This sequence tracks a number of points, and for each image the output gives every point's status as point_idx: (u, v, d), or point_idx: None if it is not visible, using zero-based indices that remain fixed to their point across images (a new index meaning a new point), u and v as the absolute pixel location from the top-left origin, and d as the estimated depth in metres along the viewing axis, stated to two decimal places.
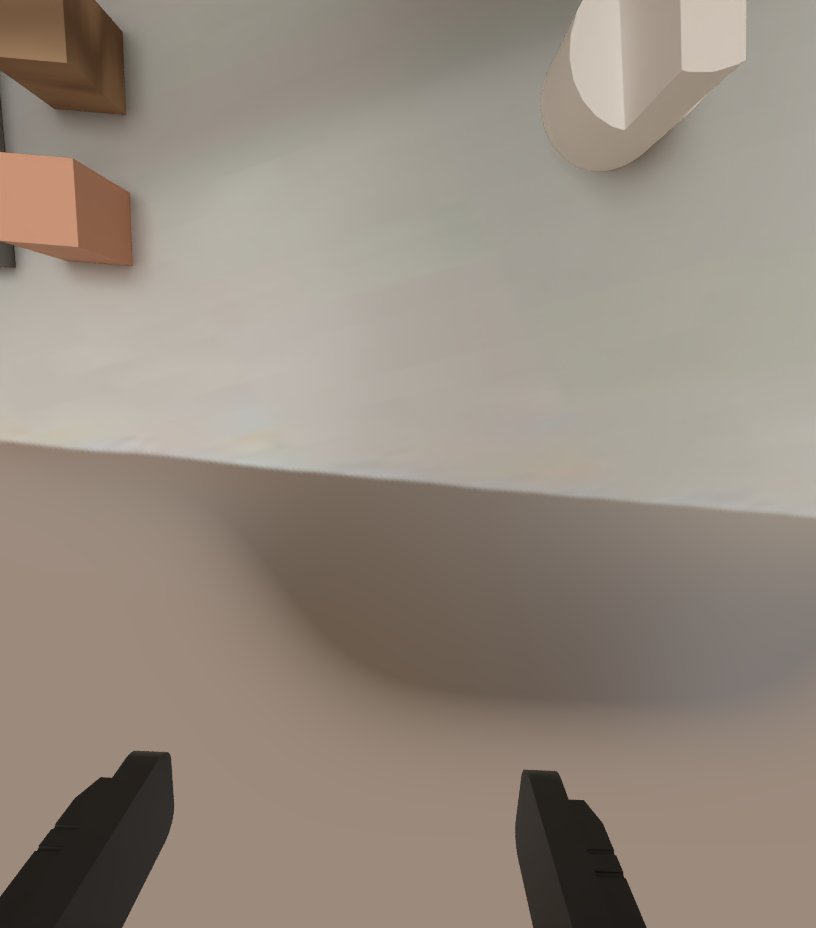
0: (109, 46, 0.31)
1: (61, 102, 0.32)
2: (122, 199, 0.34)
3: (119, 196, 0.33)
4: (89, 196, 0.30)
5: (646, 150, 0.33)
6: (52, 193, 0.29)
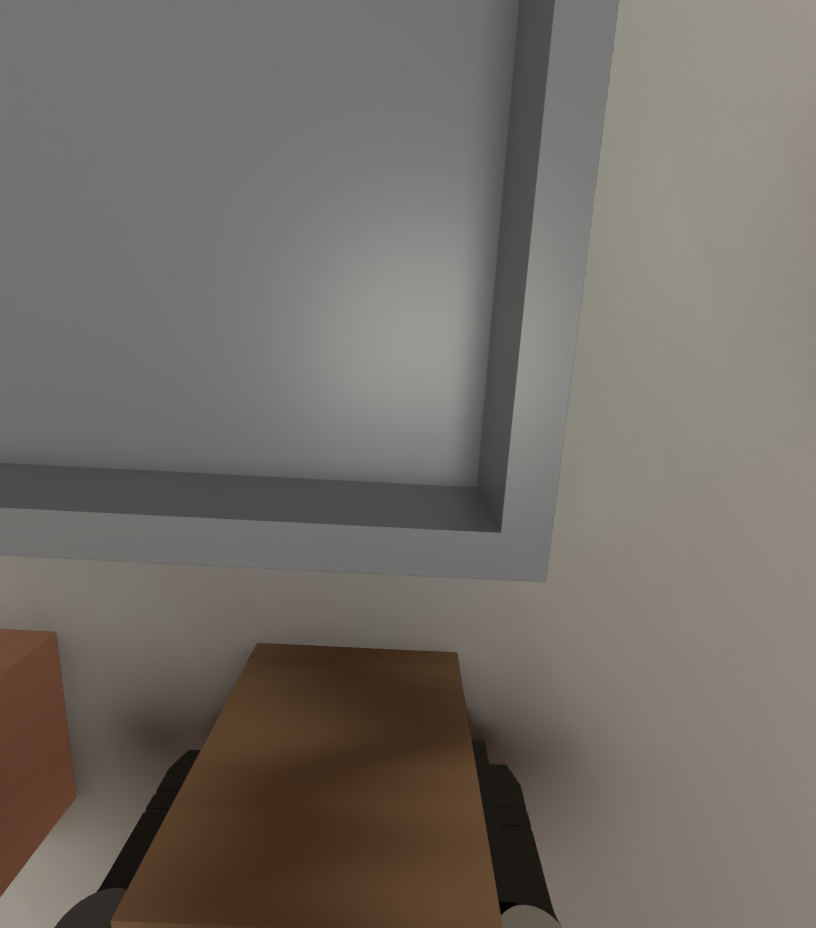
0: None
1: None
2: None
3: None
4: None
5: None
6: None
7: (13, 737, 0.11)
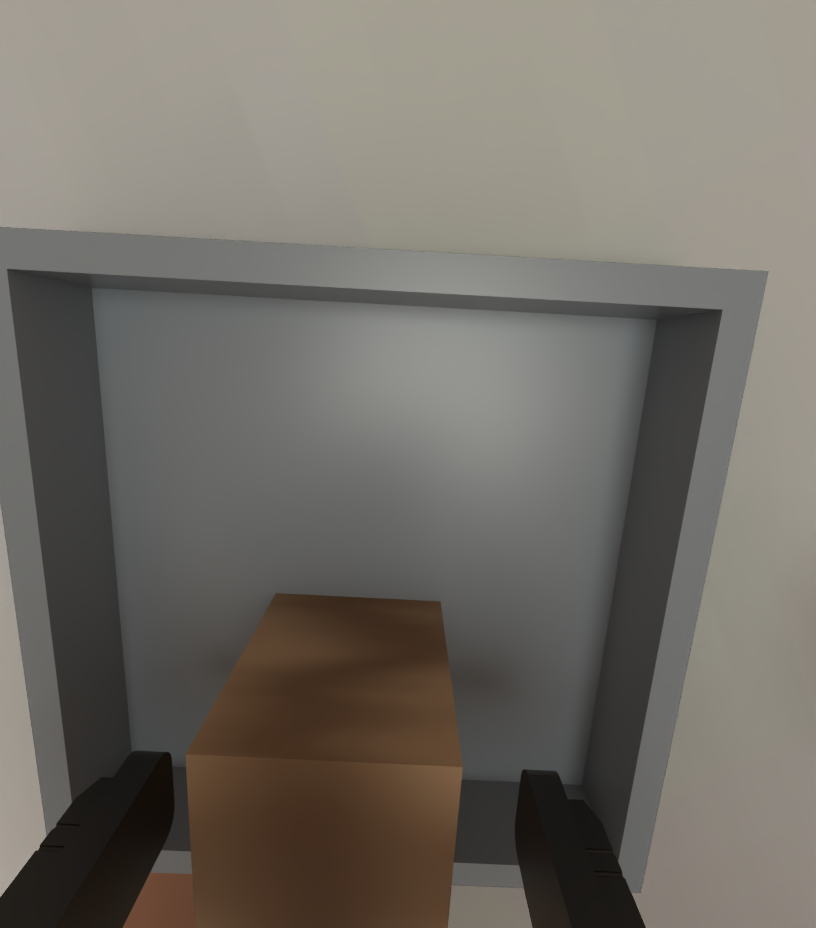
0: None
1: None
2: None
3: None
4: None
5: None
6: None
7: None
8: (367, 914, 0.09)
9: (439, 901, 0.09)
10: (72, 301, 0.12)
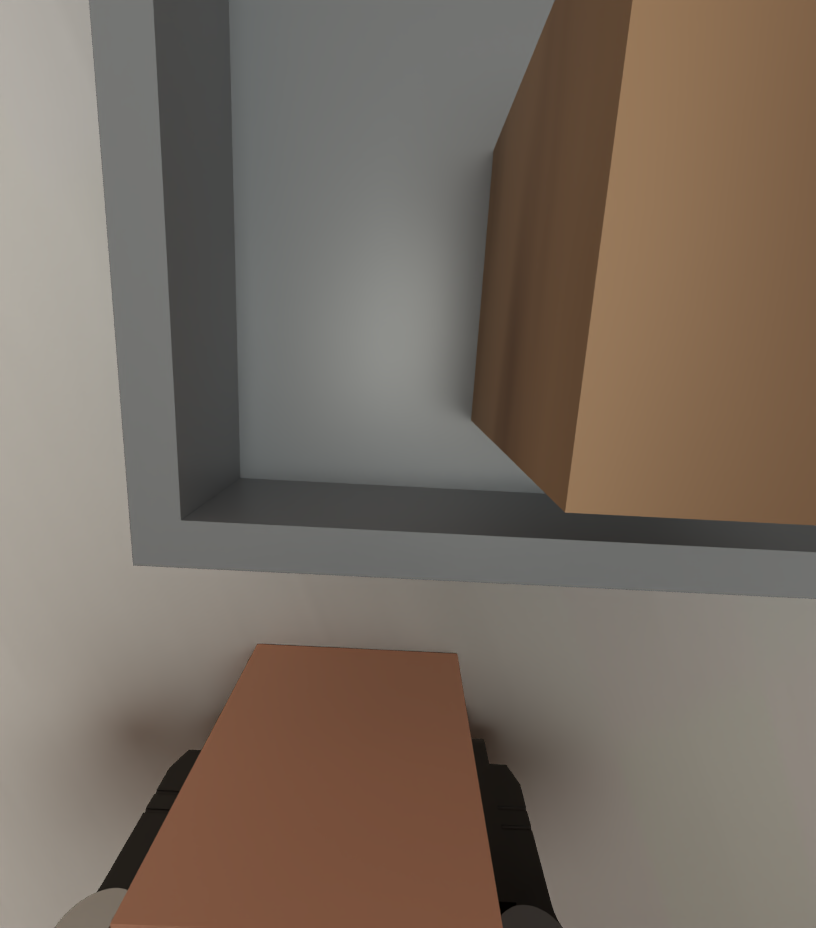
0: None
1: (497, 203, 0.08)
2: None
3: None
4: None
5: None
6: None
7: None
8: None
9: None
10: None
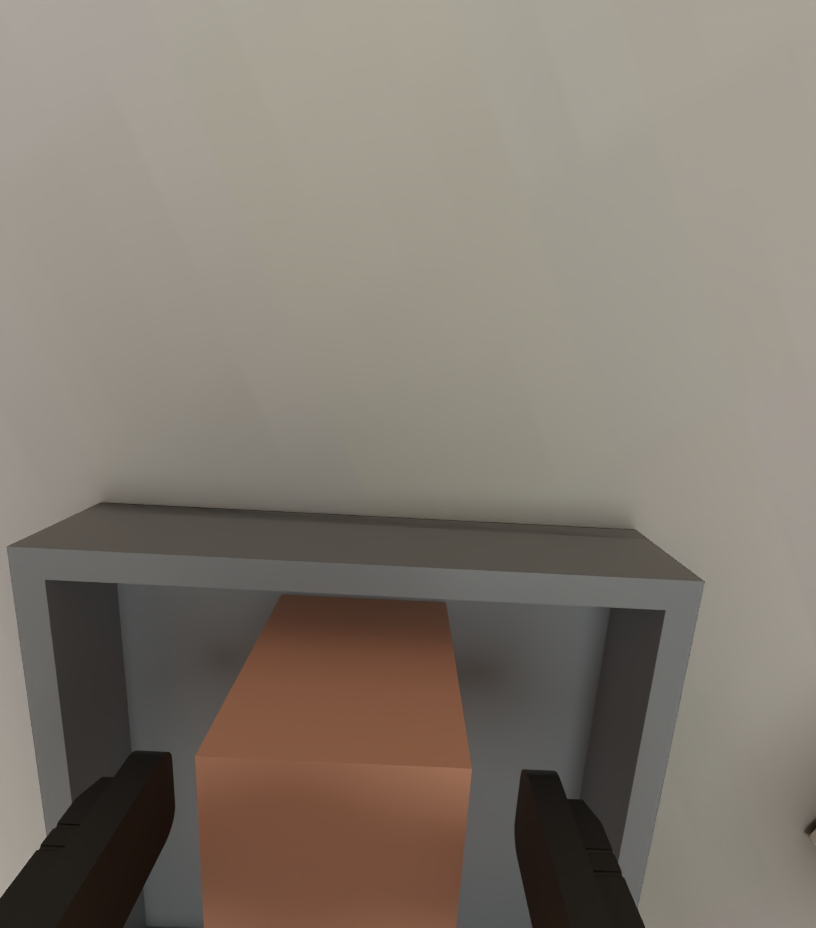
0: None
1: None
2: None
3: None
4: None
5: None
6: (354, 916, 0.09)
7: None
8: None
9: None
10: None
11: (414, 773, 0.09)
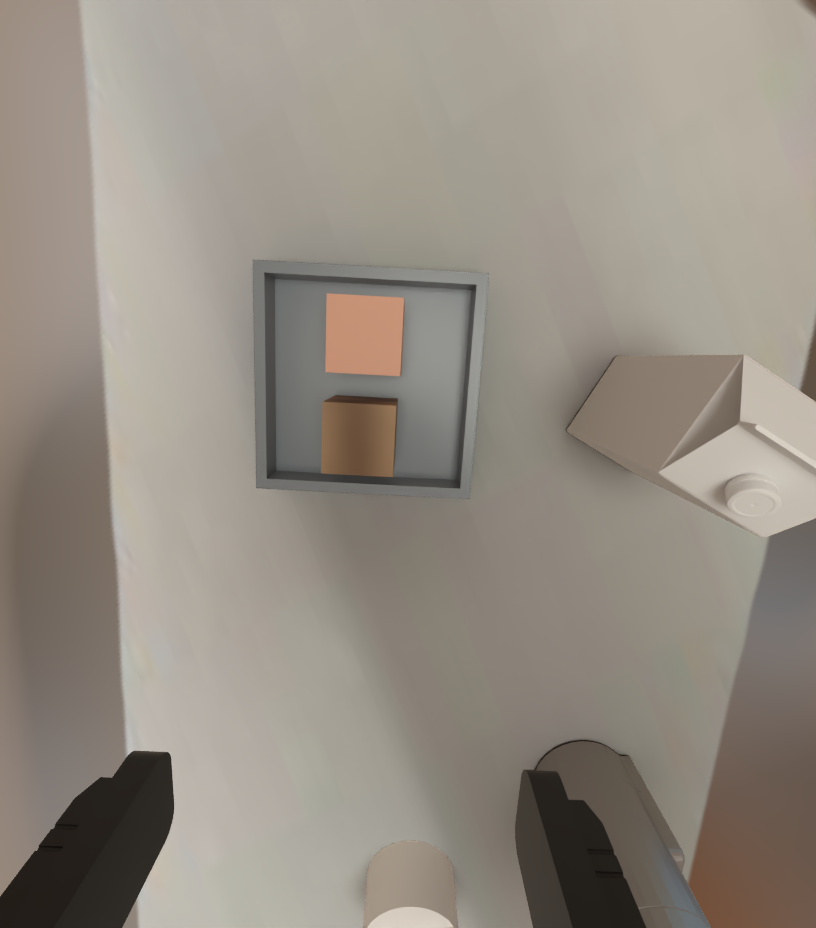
0: None
1: None
2: None
3: None
4: None
5: None
6: (370, 353, 0.31)
7: (403, 328, 0.35)
8: (370, 456, 0.33)
9: (391, 451, 0.33)
10: (271, 283, 0.35)
11: (388, 299, 0.31)
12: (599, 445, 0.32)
